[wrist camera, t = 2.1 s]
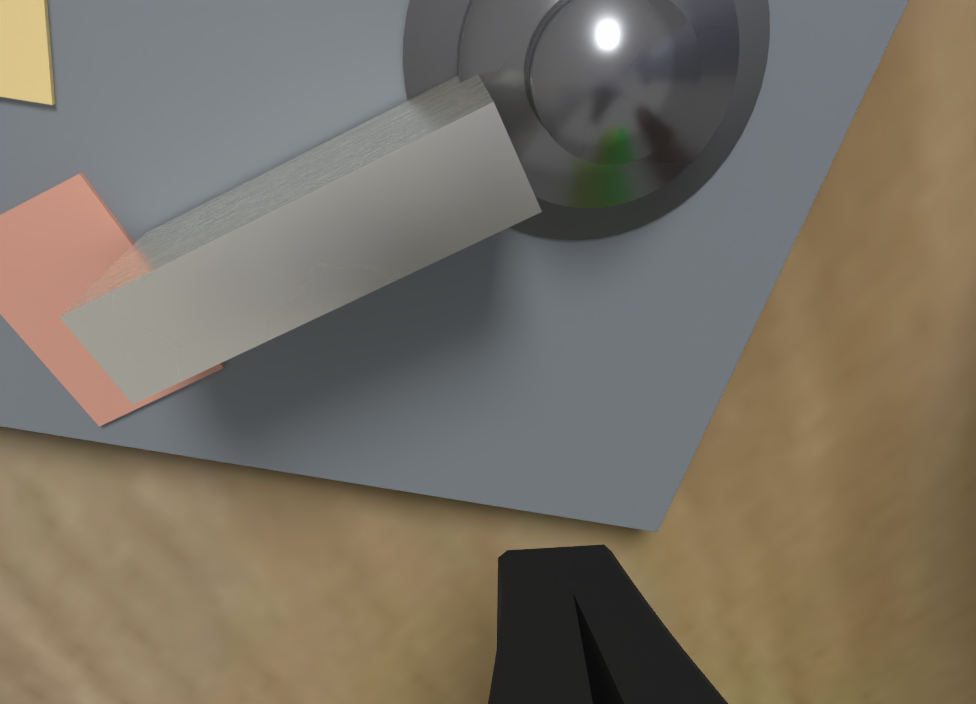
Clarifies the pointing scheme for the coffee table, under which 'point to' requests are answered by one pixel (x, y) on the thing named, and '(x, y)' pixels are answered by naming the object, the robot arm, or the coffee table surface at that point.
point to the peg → (423, 179)
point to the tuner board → (426, 292)
